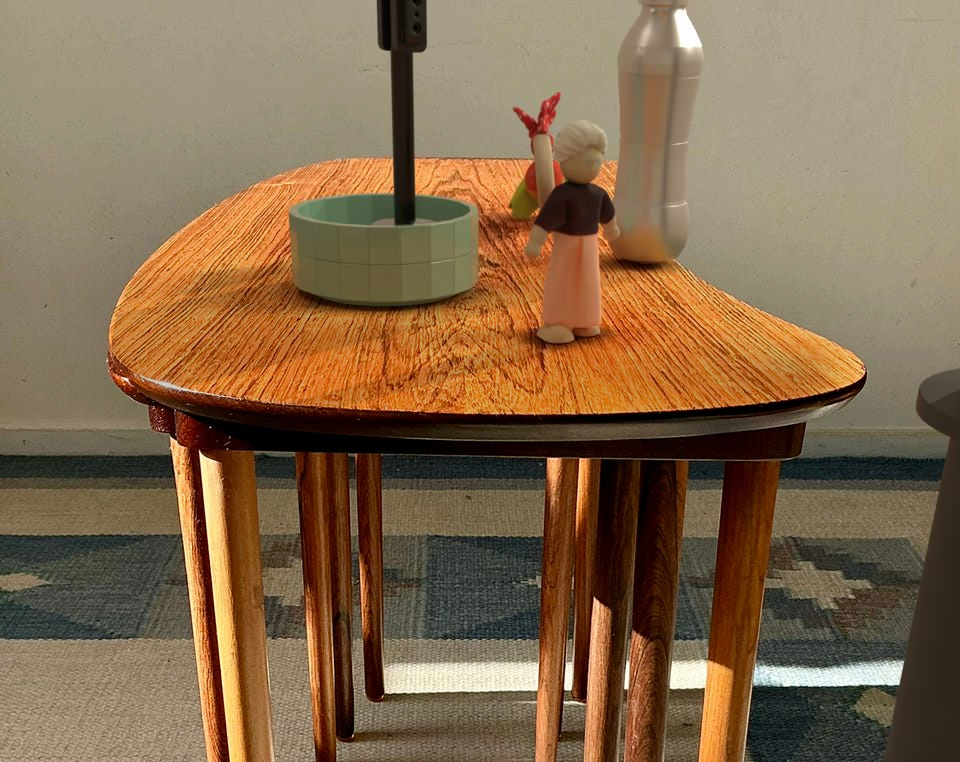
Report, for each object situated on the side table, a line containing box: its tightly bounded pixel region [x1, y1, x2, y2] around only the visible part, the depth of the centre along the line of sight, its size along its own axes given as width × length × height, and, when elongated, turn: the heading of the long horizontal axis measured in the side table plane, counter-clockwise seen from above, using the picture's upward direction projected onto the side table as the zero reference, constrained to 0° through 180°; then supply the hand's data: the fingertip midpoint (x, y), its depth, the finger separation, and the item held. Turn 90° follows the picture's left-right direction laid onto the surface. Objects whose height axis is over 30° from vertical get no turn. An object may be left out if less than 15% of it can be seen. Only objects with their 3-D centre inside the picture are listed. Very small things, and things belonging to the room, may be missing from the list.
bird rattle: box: [507, 91, 567, 221], centre depth 108 cm, size 6×11×9 cm
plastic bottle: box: [607, 0, 705, 265], centre depth 92 cm, size 6×7×20 cm
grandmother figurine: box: [524, 119, 620, 344], centre depth 75 cm, size 8×4×13 cm, turn 143°
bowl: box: [288, 192, 480, 307], centre depth 87 cm, size 13×13×6 cm
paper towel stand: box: [371, 0, 435, 225], centre depth 83 cm, size 5×5×19 cm
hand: (402, 50), depth 81 cm, fingers closed on paper towel stand, 1 cm apart
